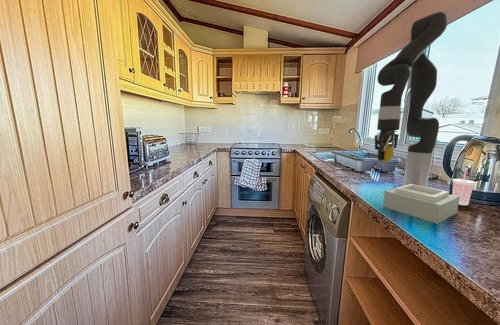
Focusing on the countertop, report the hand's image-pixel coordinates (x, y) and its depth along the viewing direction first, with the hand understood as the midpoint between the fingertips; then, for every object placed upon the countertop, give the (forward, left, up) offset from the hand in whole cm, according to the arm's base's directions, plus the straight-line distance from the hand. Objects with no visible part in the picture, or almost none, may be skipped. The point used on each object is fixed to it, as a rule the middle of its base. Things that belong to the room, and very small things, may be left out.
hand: (384, 159), depth 89 cm
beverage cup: (-17, +21, -16) cm, 31 cm away
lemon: (0, 0, -2) cm, 2 cm away
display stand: (+5, +16, -16) cm, 23 cm away
